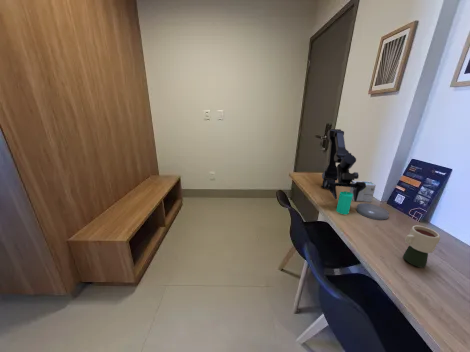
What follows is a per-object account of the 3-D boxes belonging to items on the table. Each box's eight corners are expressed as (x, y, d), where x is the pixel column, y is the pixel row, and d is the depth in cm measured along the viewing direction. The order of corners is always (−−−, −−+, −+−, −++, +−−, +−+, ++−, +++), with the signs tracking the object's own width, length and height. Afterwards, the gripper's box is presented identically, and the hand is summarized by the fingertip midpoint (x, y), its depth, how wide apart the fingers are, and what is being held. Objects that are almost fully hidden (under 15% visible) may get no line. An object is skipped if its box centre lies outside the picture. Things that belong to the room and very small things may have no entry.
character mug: (420, 255, 75) (432, 225, 71) (438, 270, 68) (452, 238, 64) (391, 254, 75) (401, 224, 71) (405, 269, 69) (417, 237, 64)
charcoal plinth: (351, 210, 107) (352, 207, 106) (364, 204, 114) (364, 201, 114) (380, 222, 96) (381, 219, 95) (392, 215, 103) (393, 211, 103)
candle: (347, 210, 107) (352, 189, 104) (349, 215, 102) (354, 193, 98) (335, 208, 109) (339, 187, 105) (336, 213, 104) (341, 192, 100)
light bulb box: (365, 197, 123) (370, 181, 120) (371, 202, 117) (376, 185, 113) (347, 196, 124) (351, 180, 121) (352, 201, 118) (356, 184, 114)
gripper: (329, 164, 104) (331, 192, 97) (369, 167, 100) (373, 196, 94) (323, 174, 114) (324, 200, 107) (359, 177, 110) (363, 204, 104)
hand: (345, 200), depth 102 cm, fingers open, 9 cm apart
